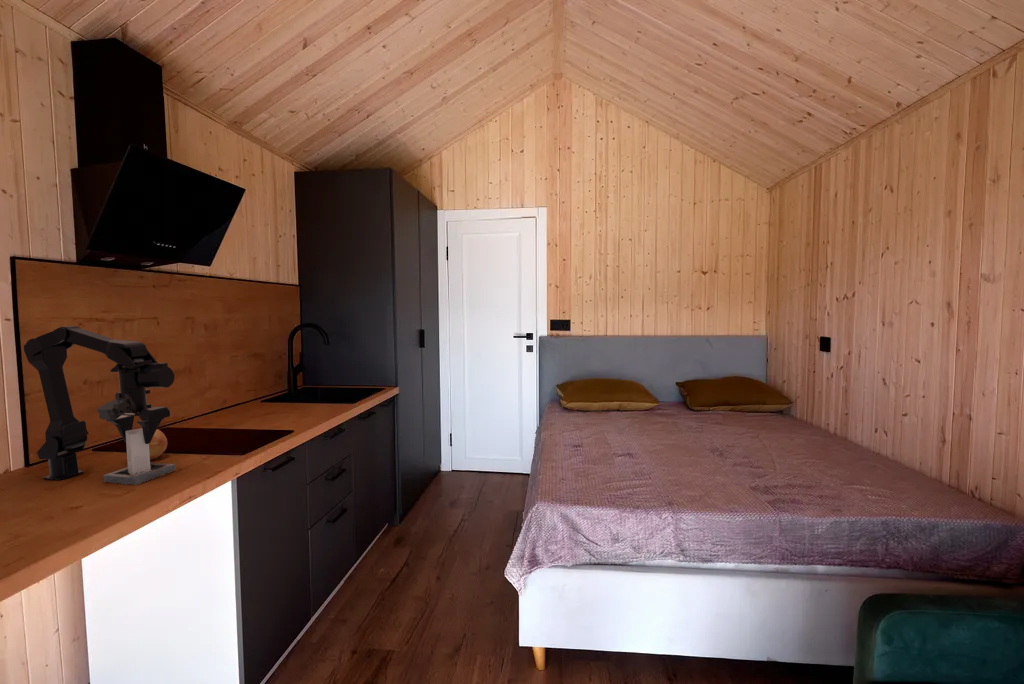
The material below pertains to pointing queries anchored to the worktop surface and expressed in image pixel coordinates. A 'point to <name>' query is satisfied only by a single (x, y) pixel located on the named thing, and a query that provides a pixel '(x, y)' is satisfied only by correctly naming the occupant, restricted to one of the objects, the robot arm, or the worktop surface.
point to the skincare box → (137, 452)
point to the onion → (157, 444)
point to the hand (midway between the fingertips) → (137, 442)
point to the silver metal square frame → (126, 478)
